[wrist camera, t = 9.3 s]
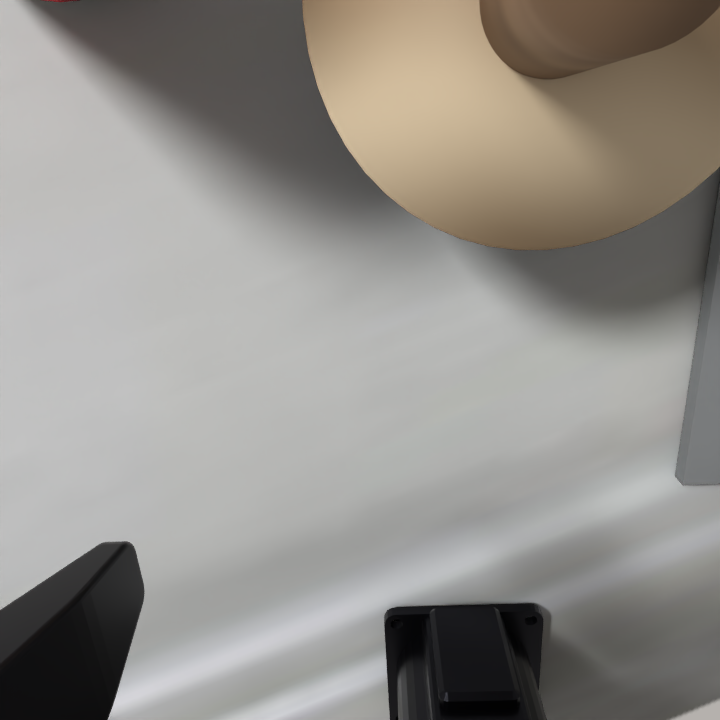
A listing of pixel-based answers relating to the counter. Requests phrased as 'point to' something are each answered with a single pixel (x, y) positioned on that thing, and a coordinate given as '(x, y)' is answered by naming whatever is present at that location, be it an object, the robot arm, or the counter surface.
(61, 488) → the counter surface
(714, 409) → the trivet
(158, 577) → the counter surface
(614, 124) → the lid
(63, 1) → the soda can
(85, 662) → the robot arm
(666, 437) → the counter surface
